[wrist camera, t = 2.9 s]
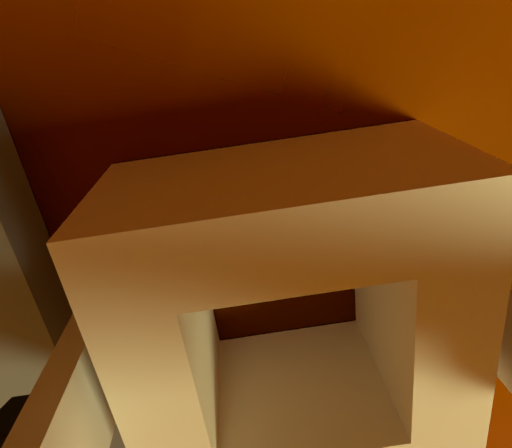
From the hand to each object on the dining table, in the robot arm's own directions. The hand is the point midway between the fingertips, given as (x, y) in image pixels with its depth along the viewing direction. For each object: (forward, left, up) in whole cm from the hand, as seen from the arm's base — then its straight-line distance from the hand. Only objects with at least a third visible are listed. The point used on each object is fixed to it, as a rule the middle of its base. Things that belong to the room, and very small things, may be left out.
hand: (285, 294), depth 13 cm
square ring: (0, +2, -1) cm, 2 cm away
